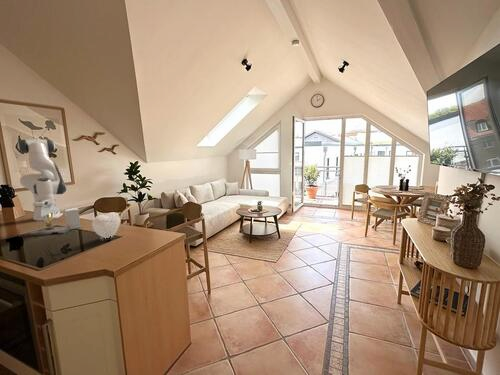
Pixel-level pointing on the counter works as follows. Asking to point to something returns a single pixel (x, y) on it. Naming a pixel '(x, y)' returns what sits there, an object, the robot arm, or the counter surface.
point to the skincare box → (72, 218)
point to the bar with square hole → (50, 231)
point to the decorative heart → (106, 224)
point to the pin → (49, 221)
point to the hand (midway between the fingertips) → (48, 220)
